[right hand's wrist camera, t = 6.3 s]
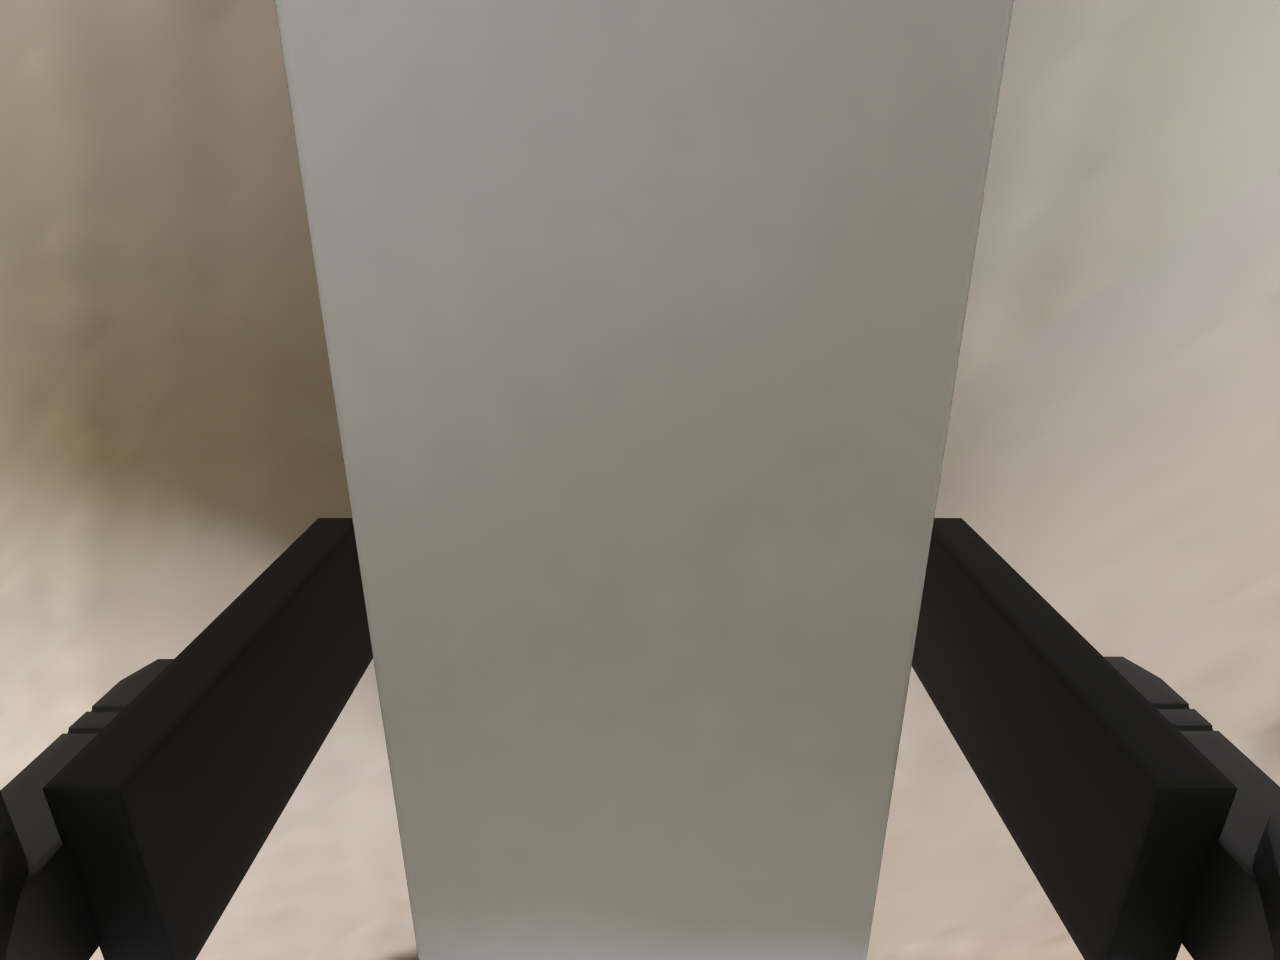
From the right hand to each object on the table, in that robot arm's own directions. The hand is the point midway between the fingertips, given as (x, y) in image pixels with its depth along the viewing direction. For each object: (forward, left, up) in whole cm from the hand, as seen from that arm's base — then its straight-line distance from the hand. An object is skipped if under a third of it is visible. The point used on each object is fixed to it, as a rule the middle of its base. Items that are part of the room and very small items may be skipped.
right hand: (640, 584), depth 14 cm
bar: (+22, -5, -2) cm, 23 cm away
